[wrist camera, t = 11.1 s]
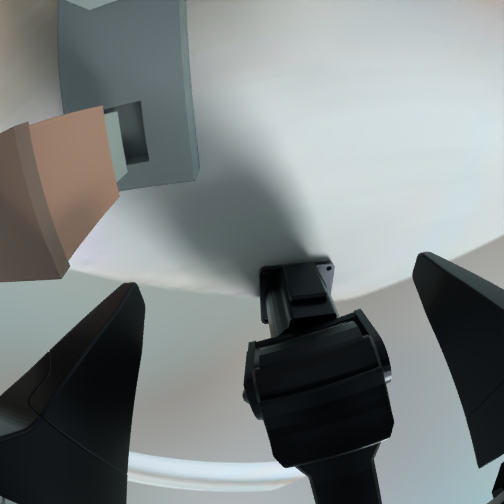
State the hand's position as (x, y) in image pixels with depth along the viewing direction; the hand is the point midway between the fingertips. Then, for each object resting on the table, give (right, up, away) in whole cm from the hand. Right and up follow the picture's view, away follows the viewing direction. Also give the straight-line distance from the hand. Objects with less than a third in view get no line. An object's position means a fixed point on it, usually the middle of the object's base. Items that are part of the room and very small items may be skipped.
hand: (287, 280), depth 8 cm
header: (-9, +14, +6) cm, 18 cm away
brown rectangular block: (-8, +6, +4) cm, 11 cm away
